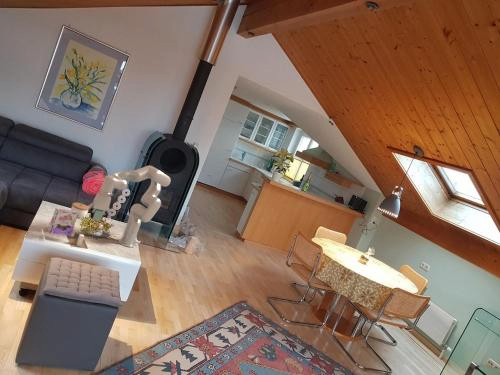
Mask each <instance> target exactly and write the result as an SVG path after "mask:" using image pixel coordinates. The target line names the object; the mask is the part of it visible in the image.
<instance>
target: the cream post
mask: <svg viewBox="0 0 500 375" xmlns="http://www.w3.org/2000/svg"><path fill="white" fill-rule="evenodd" d="M83 239H84V240H85V235H84V234H81V233H80V234H79V237H78V240H77V243H76V245H77V246H81V244H82V242H83Z"/></svg>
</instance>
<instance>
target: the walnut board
mask: <svg viewBox="0 0 500 375" xmlns="http://www.w3.org/2000/svg"><path fill="white" fill-rule="evenodd" d="M79 234H81V233H80V232H78V231H75V232H74V235H72V234H71V235H67V234H66V237H67V240H68V243H69V246H70V247H73V248H80V249H89V248H88V245H87V243H86V240H85V238H84V239H83V242H82V244H81V246H77V245H76V243H77V240H78V237H79Z"/></svg>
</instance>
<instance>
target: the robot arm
mask: <svg viewBox="0 0 500 375" xmlns="http://www.w3.org/2000/svg"><path fill="white" fill-rule="evenodd" d="M147 179H150V180H151V181H150V185H149V187H148V189H147V190H146V191H145V193H144V194H143V195H142V197H141V199H140V202H141V204H140V203H135V204H133V205H132V206H131V207H130V212H129V217H128V220H127V223H126V226H125V227H124V231H123V233H122V236H121V238H119V239H118V240H117V242H118V243H119V245H122V246H124V247H128V248H134V247H136V244H139V245H140V244H141V241H140V240H138V239H136V238H137V235H138V233H139V230H140V227H141V225H142V222H143V223H148V222H150V221H151V220H152V219H153V217H154V216H155V214H157V212H158V211H159V209H160V207H161V206H162V201H161V199H160V198H159V197H158V196H159V194H160V193H161V190H162V187H169V185H170V184H171V181H172V180H171V177H170V176H169V175H167V174H165V173H164V172H162V171H161V170H160V169H158V168H156V167H154V166H153V165H146V166H144V167H141V168H138V169H134V170H121V171H117V172H114V173H112V174H110V175H109V174H108V175H105V177H104V180H103V182H102V184H101V187H100V190H99V192H98V193H96V195H95V197H94V199H93V201H92V202H91V203H90V204H88V205H87V206H88V207H89V210H90V211H91V213H90V217H89V218H90V219H92V218H93V216H94V211H95V210H96V209H98V210H102V211H103V212H104V213H103V216H102V218H101V220H103V218H104V216H105V215H106V214H108V213H110V212H111V208H110V205H111V200H112V197H113V196H114V193H113V191H114V189H116V190H120V191H124V190H125V189H127V188H128V181H129V182H134V183H140V182H142V181H144V180H147ZM142 204H143V205H142Z"/></svg>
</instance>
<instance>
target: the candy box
mask: <svg viewBox="0 0 500 375" xmlns="http://www.w3.org/2000/svg"><path fill="white" fill-rule="evenodd" d="M52 214H53V215H52V218H51V219H50V222H49V226H48V230H47V231H48V232H49V233H50V234H58V235H59V234H60V235H66V236H67V235H71V236H72V233H73V229H74V227H75V225H76V224H75V223H76V222H77V219H78V218H77V216H78V214H77V212H76V211H71V209H63V208H58V207H55V209H54V212H53V213H52Z"/></svg>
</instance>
